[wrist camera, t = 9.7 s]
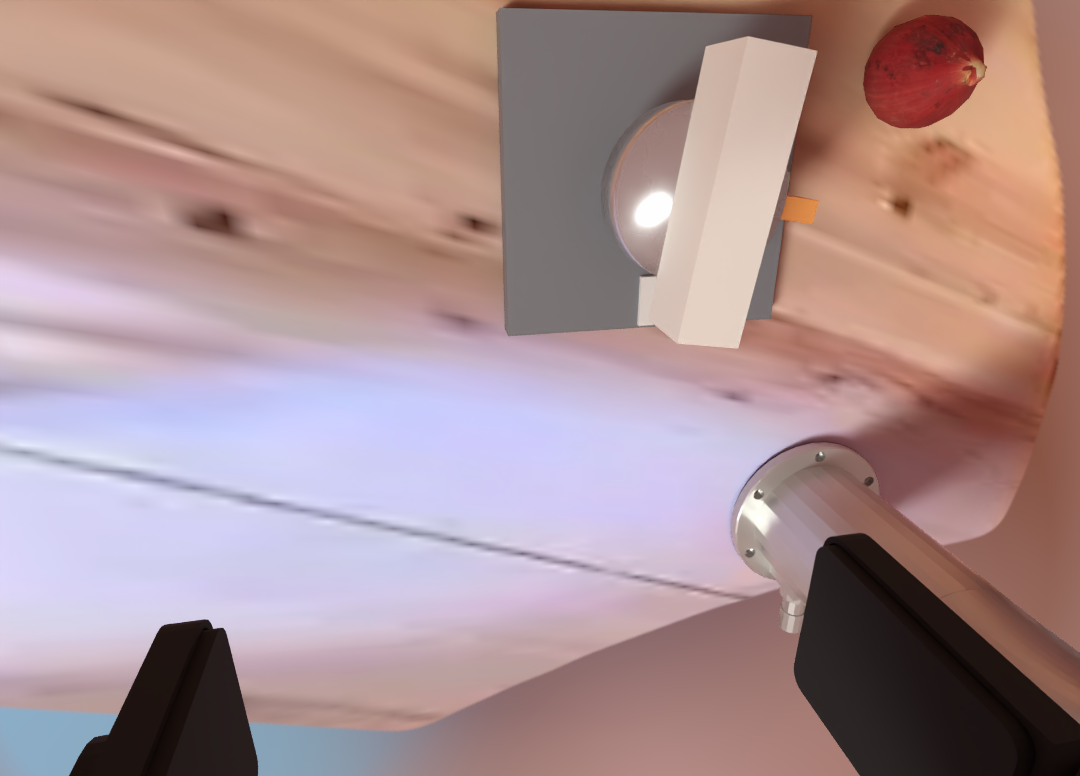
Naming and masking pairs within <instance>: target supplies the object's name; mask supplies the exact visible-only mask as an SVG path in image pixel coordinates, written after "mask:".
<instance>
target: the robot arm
mask: <svg viewBox="0 0 1080 776" xmlns="http://www.w3.org/2000/svg"><path fill="white" fill-rule="evenodd" d="M731 536H732V541H733V545H734V547H735V549H736V551H737V553H738V555H739V556H740V557H741V559H742V560H743V561H744V563H745V564H746V565H747V566H748V567H749V568H750V569H751V570H753V571H754V572H755V573H757V574H759V575H761V576H763V577H766V578H769V579H773V580H776V581H777V582H778V583H779V584H780V585H781V586H780V594H781V596H782V597H783V603H782V604H781V607H780V612H779V618H778V625H779V626H780V627H781V629H783V630H784V631H786V632H789V633H798V632H800V631H801V633H800V638H799V643H798V648H797V653H796V658H795V663H794V674H795V678H796V682H797V684H798V686H799V688H800V690H801V692H802V693H803V695H804V696H805V697H806V699H807V700H808V702H809V703H810V704H811V706H812V707H813V709H814V710H815V712H816V713H817V715H818V716H819V718H820V719H821V720H822V722H823V723H824V725H825V726H826V728H827V729H828V730H829V732H830V733H831V735H832V736H833V738H834V739H835V740H836V742H837V743H838V745H839V746H840V748H841V749H842V751H843V752H844V753H845V755H846V756H847V757H848V759H849V760H850V762H851V763H852V765H853V766H854V768H855V769H856V771H857V772H858V773H859V775H860V776H1080V653H1079V652H1078V651H1077V650H1075V649H1074V648H1073V647H1071V646H1070V645H1069V644H1067V643H1066V642H1065V641H1063V640H1062V639H1060V638H1059V637H1058V636H1057V635H1055V634H1054V633H1053V632H1051V631H1050V630H1048V629H1047V628H1046V627H1045V626H1043V625H1042V624H1041V623H1039V622H1038V621H1036V620H1035V619H1034V618H1033V617H1031V616H1030V615H1029V614H1028V613H1026V612H1025V611H1024V610H1023V609H1021V608H1020V607H1019V606H1018V605H1016V604H1015V603H1014V602H1012V601H1011V600H1010V599H1009V598H1007V597H1006V596H1005V595H1004V594H1002V593H1001V592H999V591H998V590H997V589H996V588H995V587H993V586H992V585H991V584H990V583H988V582H987V581H986V580H985V579H983V578H982V577H981V576H980V575H978V574H977V573H975V571H973V570H972V569H971V568H969V567H968V566H967V565H966V564H964V563H963V562H962V561H961V560H959V559H958V558H957V557H956V556H954V555H953V554H952V553H950V552H949V551H948V550H947V549H945V548H944V547H943V546H942V545H940V544H939V543H938V542H937V541H935V540H934V539H933V538H932V537H930V536H929V535H928V534H927V533H925V532H924V531H923V530H922V529H920V528H919V527H918V526H916V525H915V524H914V523H913V522H911V521H910V520H909V519H908V518H906V517H905V516H904V515H903V514H901V513H900V512H899V511H898V510H896V509H895V508H894V507H892V506H891V505H890V504H889V503H887V502H886V501H885V500H884V499H882V498H881V497H880V491H879V482H878V479H877V476H876V473H875V472H874V470H873V468H872V467H871V465H870V464H869V463H868V462H867V461H866V460H865V459H864V458H863V457H862V456H860V455H859V454H857V453H856V452H854V451H853V450H851V449H850V448H848V447H845V446H842V445H840V444H835V443H828V442H821V443H810V444H806V445H801V446H797V447H795V448H793V449H790V450H788V451H785V452H783V453H781V454H780V455H778V456H777V457H775V458H773V459H772V460H770V461H769V462H768V463H766V464H765V465H764V466H763V467H762V468H760V469H759V470H758V471H757V472H756V473H755V474H754V476H753V477H752V478H751V479H750V480H749V481H748V482H747V484H746V485H745V487H744V489H743V490H742V492H741V493H740V495H739V497H738V499H737V502H736V504H735V506H734V510H733V514H732V518H731ZM69 776H258V761H257V755H256V751H255V747H254V743H253V739H252V735H251V731H250V727H249V723H248V719H247V715H246V711H245V707H244V703H243V699H242V695H241V690H240V686H239V682H238V678H237V674H236V670H235V666H234V662H233V658H232V654H231V650H230V646H229V642H228V638H227V634H226V631H225V630H224V628H217V629H213V627H212V625H211V623H210V622H209V620H197V621H190V622H182V623H175V624H167V625H164V626H162V627H161V628H160V629H159V631H158V633H157V634H156V637H155V639H154V641H153V643H152V645H151V647H150V649H149V651H148V653H147V656H146V658H145V660H144V662H143V664H142V666H141V668H140V670H139V672H138V675H137V677H136V679H135V681H134V683H133V685H132V687H131V689H130V691H129V694H128V696H127V698H126V700H125V702H124V704H123V706H122V708H121V710H120V713H119V715H118V717H117V719H116V721H115V723H114V725H113V727H112V729H111V732H110V734H109V735H103V736H98V737H94V738H93V739H92V740H91V741H90V742H89V743H88V744H87V745H86V746H85V748H84V749H83V751H82V753H81V754H80V756H79V757H78V759H77V761H76V763H75V765H74V767H73V769H72V771H71V773H70V775H69Z"/></svg>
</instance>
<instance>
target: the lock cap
mask: <svg viewBox="0 0 1080 776" xmlns="http://www.w3.org/2000/svg"><path fill="white" fill-rule="evenodd" d="M816 55H817V51H816V50H811V49H807V48H802V47H797V46H792V45H787V44H783V43H778V42H773V41H768V40H764V39H759V38H754V37H749V36H747V37H743V38H739V39H734V40H730V41H726V42H722V43H718V44H713V45H709V46H706V48H705V52H704V57H703V62H702V67H701V71H700V76H699V81H698V86H697V90H696V95H695V99H693V100H678V101H674V102H669V103H666V104H663V105H660V106H657V107H655V108H653V109H651V110H650V111H648V112H646V113H645V114H643V115H642V116H640V117H639V118H638V119H636V120H635V121H634V122H633V123H632V124H631V125H630V126H629V127H628V128H627V129H626V130H625V132H624V133H623V134H622V135H621V136H620V138H619V139H618V141H617V142H616V144H615V145H614V147H613V149H612V151H611V153H610V155H609V158H608V160H607V163H606V166H605V169H604V173H603V178H602V184H601V207H602V214H603V218H604V222H605V225H606V227H607V230H608V232H609V235H610V236H611V238H612V240H613V241H614V243H615V244H616V246H617V247H618V248H619V250H620V251H621V252H622V253H623V254H624V255H625V256H626V257H627V258H629V259H630V260H631V261H633V262H634V263H636V264H637V265H639V266H640V267H642V268H644V269H645V270H647V271H648V272H650V273H652V274H653V275H655V276H657V280H656V284H655V289H654V294H653V299H652V303H651V308H650V313H649V317H648V320H649V321H650V322H652V323H653V324H654V325H655V326H657V327H658V328H659V329H660V330H661V331H663V332H664V333H665V334H666V335H668V336H669V337H670V338H671V339H672V340H674V341H675V342H676V343H678V344H690V345H702V346H714V347H726V348H738V347H739V343H740V339H741V336H742V332H743V328H744V325H745V321H746V317H747V313H748V310H749V306H750V302H751V298H752V295H753V291H754V287H755V283H756V280H757V276H758V272H759V268H760V265H761V261H762V257H763V253H764V250H765V246H766V245H767V243H768V242H769V241H770V239H771V237H772V235H773V234H774V232H775V230H776V228H777V226H778V224H779V221H780V220H787V221H795V222H802V223H809V224H812V223H813V220H814V216H815V213H816V209H817V206H818V202H819V201H817V200H812V199H807V198H802V197H797V196H790V195H787V187H788V173H787V164H788V160H789V156H790V152H791V149H792V145H793V141H794V137H795V134H796V130H797V126H798V122H799V119H800V115H801V111H802V107H803V104H804V100H805V96H806V92H807V89H808V85H809V81H810V77H811V74H812V70H813V66H814V63H815V59H816Z"/></svg>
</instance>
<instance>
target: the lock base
mask: <svg viewBox="0 0 1080 776" xmlns="http://www.w3.org/2000/svg"><path fill="white" fill-rule="evenodd" d="M496 19H497V55H498V92H499V128H500V165H501V201H502V238H503V274H504V311H505V330H506V332H507V334H508V336H518V335H533V334H548V333H563V332H578V331H594V330H609V329H624V328H639V327H654V326H655V325H654V324H653V323H652V322H650V321H649V320H648V317H649V313H650V308H651V303H652V299H653V294H654V289H655V284H656V280H657V276H655V275H653V274H652V273H650V272H648V271H647V270H645V269H644V268H642V267H640V266H639V265H637V264H636V263H634V262H633V261H631V260H630V259H629V258H627V257H626V256H625V255H624V254H623V253H622V252H621V251H620V250H619V248H618V247H617V246H616V244H615V243H614V241H613V240H612V238H611V236H610V235H609V232H608V230H607V227H606V225H605V222H604V218H603V214H602V207H601V184H602V178H603V173H604V169H605V166H606V163H607V160H608V158H609V155H610V153H611V151H612V149H613V147H614V145H615V144H616V142H617V141H618V139H619V138H620V136H621V135H622V134H623V133H624V132H625V130H626V129H627V128H628V127H629V126H630V125H631V124H632V123H633V122H634V121H635V120H636V119H638V118H639V117H640V116H642V115H643V114H645V113H646V112H648V111H650V110H651V109H653V108H655V107H657V106H660V105H663V104H666V103H669V102H674V101H678V100H693V99H695V95H696V90H697V86H698V81H699V76H700V71H701V67H702V62H703V57H704V52H705V48H706V46H709V45H713V44H718V43H722V42H726V41H730V40H734V39H739V38H743V37H747V36H749V37H754V38H759V39H764V40H768V41H773V42H778V43H783V44H787V45H792V46H797V47H802V48H807V49H808V43H809V36H810V29H811V21H812V16H811V15H770V14H729V13H689V12H648V11H607V10H566V9H525V8H500V9H499V10H498V11H497V12H496ZM795 138H796V134H795V137H794V141H793V145H792V149H791V152H790V156H789V160H788V164H787V173H788V187H787V195H788V189H789V181H790V174H791V167H792V160H793V152H794V145H795ZM783 225H784V220H780V221H779V224H778V226H777V228H776V230H775V232H774V234H773V235H772V237H771V239H770V241H769V242H768V243H767V245H766V246H765V250H764V253H763V257H762V261H761V265H760V268H759V272H758V276H757V280H756V283H755V287H754V291H753V295H752V298H751V302H750V306H749V310H748V313H747V317H746V320H760V319H771V312H772V305H773V298H774V290H775V283H776V276H777V269H778V261H779V254H780V247H781V239H782V232H783Z"/></svg>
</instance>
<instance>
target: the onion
mask: <svg viewBox="0 0 1080 776" xmlns="http://www.w3.org/2000/svg"><path fill="white" fill-rule="evenodd" d="M986 68H987V66H985V65H984V55H983V47H982V45H981V43H980V41H979V38H978V36H977V34H976V33H975V32H974V31H973V30H972V29H971V28H970V27H968V26H967V25H966V24H964V23H963V22H962V21H960V20H958V19H956V18H954V17H947V16H939V15H925V16H922V17H919V18H917V19H914V20H911V21H908V22H906V23H903V24H900V25H898V26H895V27H894V28H893V29H892V30H891V31H890V32H889V33H888V34H887V35H886V36H885V37H884V38H883V39H882V40H881V41H879V42H878V44H877V45H876V46H875V47H874V48H873V51H872V53H871V55H870V57H869V59H868V62H867V64H866V66H865V73H864V82H863V86H864V91H865V96H866V101H867V103H868V105H869V106H870V108H871V109H872V111H873V112H874V114H875V115H876V116H877V118H878V119H880V120H882V121H884V122H886V123H887V124H889V125H891V126H894V127H898V128H921V127H926V126H929V125H931V124H933V123H935V122H937V121H940V120H942V119H944V118H946V117H947V116H949V115H951V114H952V113H954V112H955V111H956V110H957V109H958V108H959V107H960V106H961V105H962V104H963V103H964V102H965V101H966V100H967V99H969V97H970V96H971V94H972V92H973V90H974V89H975V87H976V85H977V83H978V82H980V81H981V80H982V79H983V78H984V76H985V71H986Z"/></svg>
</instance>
